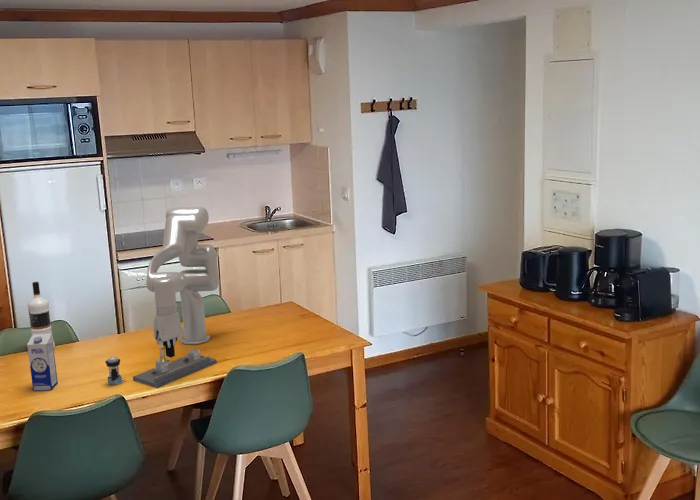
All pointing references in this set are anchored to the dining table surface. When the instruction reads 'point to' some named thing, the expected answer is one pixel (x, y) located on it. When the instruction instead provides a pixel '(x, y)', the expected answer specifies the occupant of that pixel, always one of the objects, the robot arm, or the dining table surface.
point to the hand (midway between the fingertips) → (170, 356)
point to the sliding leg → (161, 363)
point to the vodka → (39, 313)
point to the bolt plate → (176, 369)
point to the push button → (114, 371)
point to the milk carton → (42, 362)
